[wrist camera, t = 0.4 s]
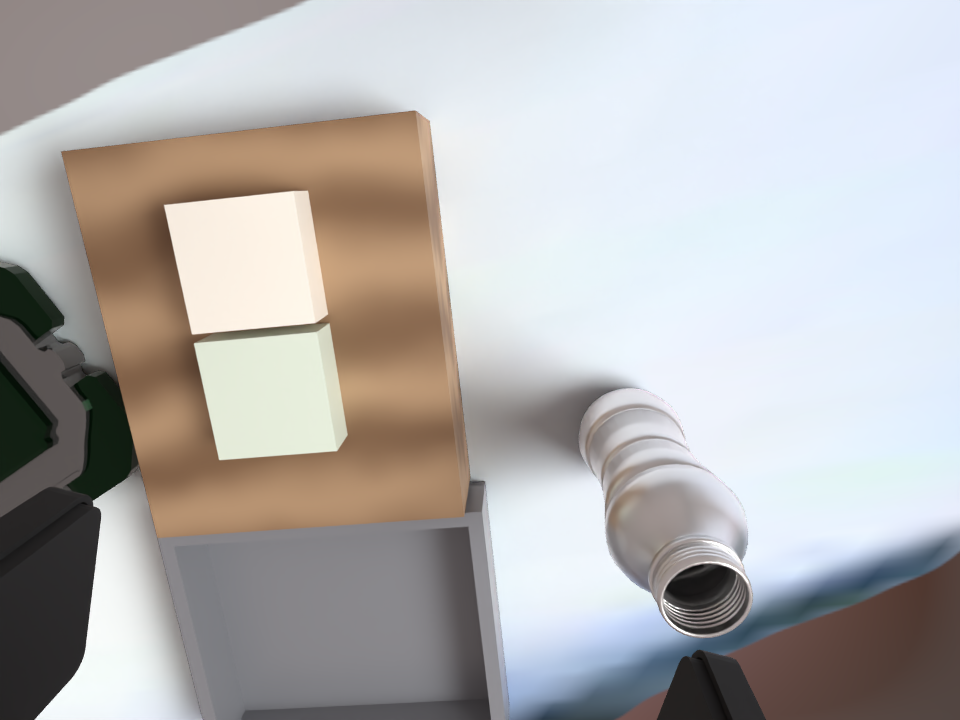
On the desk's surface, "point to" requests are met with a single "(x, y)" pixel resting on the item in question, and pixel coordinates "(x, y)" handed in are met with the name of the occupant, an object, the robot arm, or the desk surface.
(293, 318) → the tile cream
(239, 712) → the bin
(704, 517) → the plastic bottle
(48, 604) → the robot arm
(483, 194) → the desk surface
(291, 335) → the tile sage
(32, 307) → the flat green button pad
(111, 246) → the wooden block
